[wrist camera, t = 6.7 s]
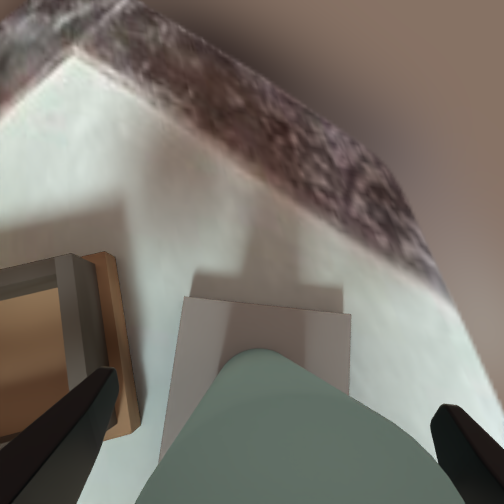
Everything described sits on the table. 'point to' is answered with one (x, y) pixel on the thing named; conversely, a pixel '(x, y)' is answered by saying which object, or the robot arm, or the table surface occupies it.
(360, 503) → the peg
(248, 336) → the pad
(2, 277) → the socket
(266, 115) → the table surface
